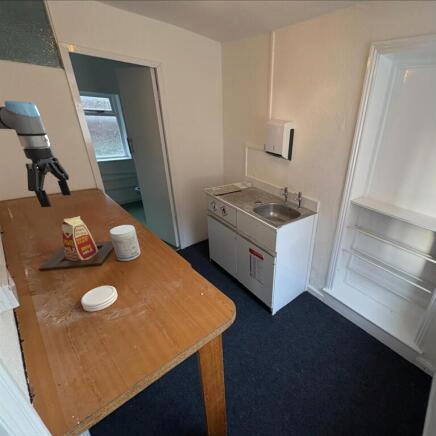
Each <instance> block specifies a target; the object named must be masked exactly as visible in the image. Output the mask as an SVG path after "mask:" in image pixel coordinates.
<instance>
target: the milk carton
mask: <svg viewBox="0 0 436 436" xmlns="http://www.w3.org/2000/svg"><path fill="white" fill-rule="evenodd" d="M61 237H62V238H61V239H62V246H63V247H64V252H65V255H66V260H68V261H75V260H87V259H92V258H93V257H94V256H95V255H96V254H97V252H98V251H99V250H98V249H99V248H97V246H96V244H95V242H96V241H95V240H94V238H93V236H92V233H91V232H90V230H89V228H88V227H87V225H86V224H85V222H84V221H83V220H82V219H81V216H80V215H79V216H75V217H71V218H63V223H62V224H61Z"/></svg>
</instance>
